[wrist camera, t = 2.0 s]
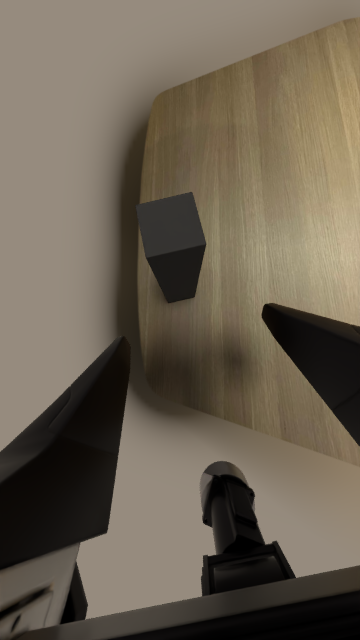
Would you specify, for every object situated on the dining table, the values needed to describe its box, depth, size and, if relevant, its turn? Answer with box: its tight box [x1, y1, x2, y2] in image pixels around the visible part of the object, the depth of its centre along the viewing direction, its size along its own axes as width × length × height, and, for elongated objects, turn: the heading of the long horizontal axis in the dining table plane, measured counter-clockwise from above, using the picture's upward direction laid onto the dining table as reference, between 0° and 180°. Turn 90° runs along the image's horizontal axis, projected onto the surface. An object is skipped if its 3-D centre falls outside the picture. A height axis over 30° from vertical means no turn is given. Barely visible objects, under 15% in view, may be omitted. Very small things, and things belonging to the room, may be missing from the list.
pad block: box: [136, 192, 206, 303], centre depth 17 cm, size 4×4×13 cm
